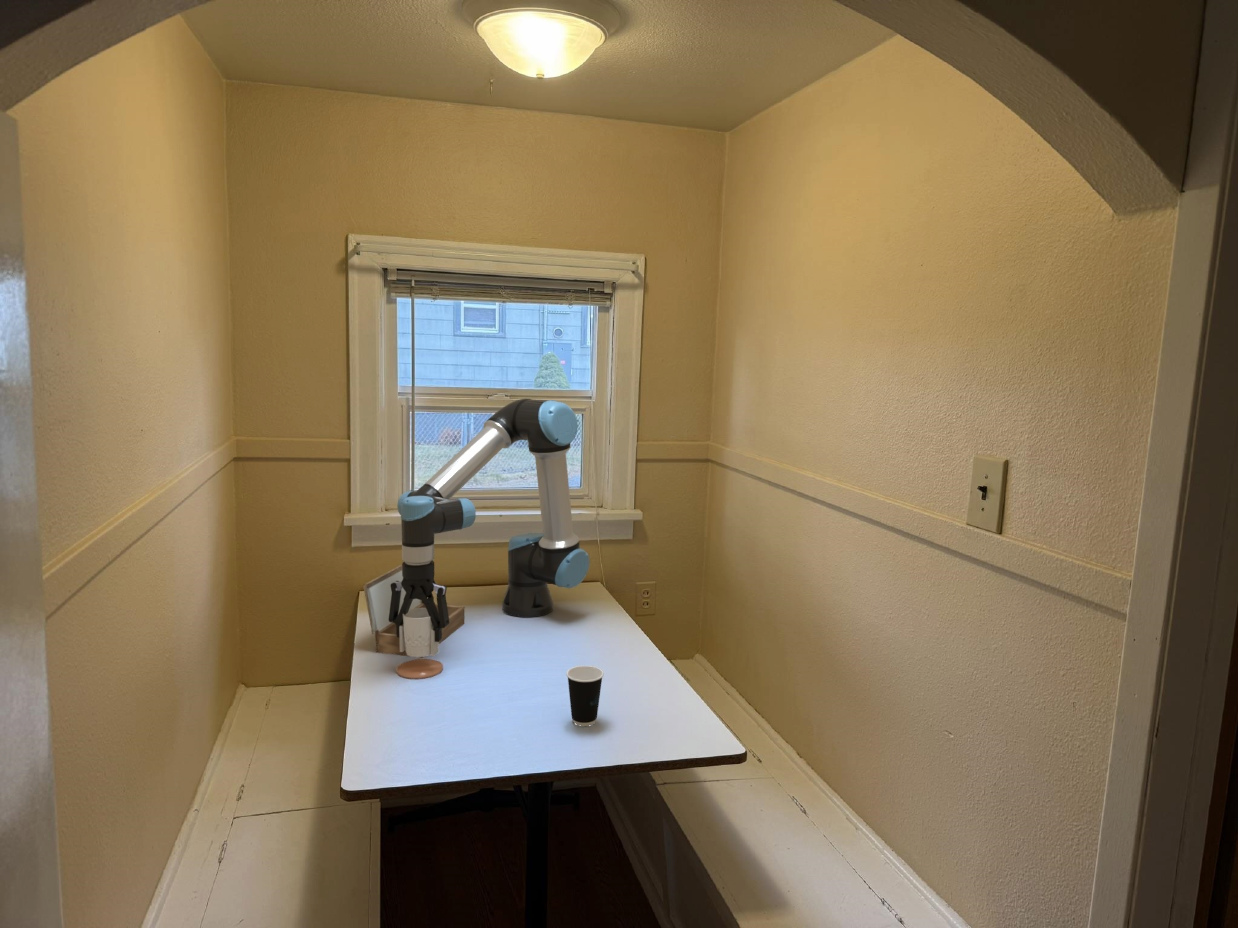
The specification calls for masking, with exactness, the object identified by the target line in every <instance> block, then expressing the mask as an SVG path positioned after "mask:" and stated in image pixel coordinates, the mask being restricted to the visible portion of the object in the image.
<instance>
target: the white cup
mask: <svg viewBox="0 0 1238 928" xmlns="http://www.w3.org/2000/svg"><path fill="white" fill-rule="evenodd" d="M403 626H404V640H405V649H406V654H407V655H408V656H407V657H411V658H420V657H422V658H425V657H428V656H431V629H433V628H434V627H433V625H432V622H431V619H430V616H429V614H428V612H427V609H426V608H414V609H410V610H409V611H408V613H407V614H405V615H404V614H403Z"/></svg>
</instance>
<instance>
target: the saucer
mask: <svg viewBox="0 0 1238 928" xmlns="http://www.w3.org/2000/svg"><path fill="white" fill-rule="evenodd" d="M443 670H444V665H443V663H442V662H441V661H440V660H436V659H432V658H416V659H415V658H414V659H410V660H407V661H404V662H402V663H400V664H399V665H397V667H396V674H397V676H399V677H400V678H403V679H408V680H423V679H425V680H426V679H429V678H432V677H435V676H437V675H439V674H441V673H442V672H443Z"/></svg>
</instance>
